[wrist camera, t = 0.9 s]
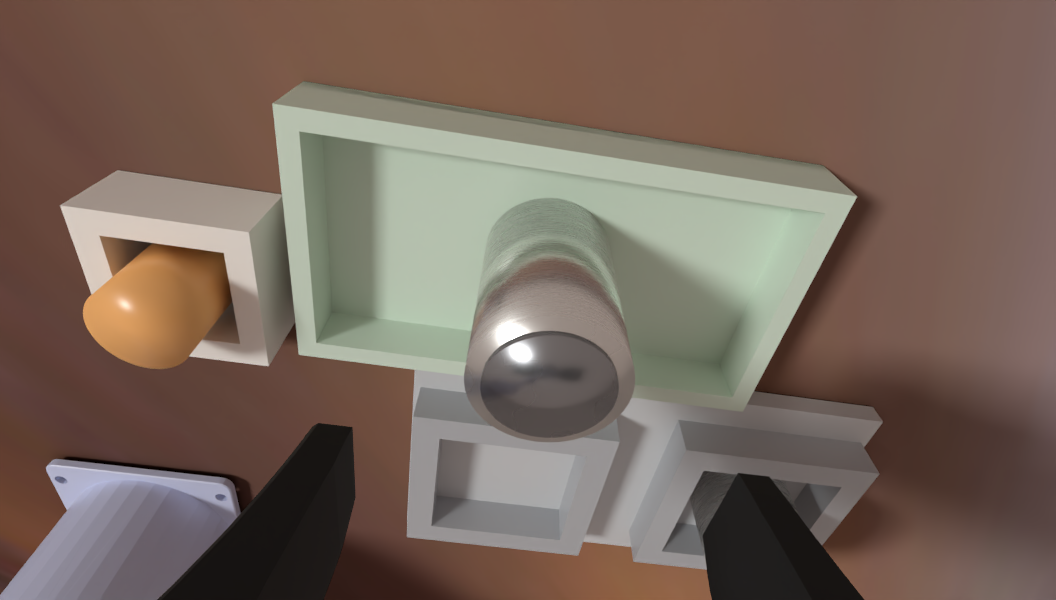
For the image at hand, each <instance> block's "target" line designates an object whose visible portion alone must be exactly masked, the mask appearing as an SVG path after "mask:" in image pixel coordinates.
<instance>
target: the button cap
mask: <svg viewBox="0 0 1056 600" xmlns="http://www.w3.org/2000/svg"><path fill="white" fill-rule="evenodd" d="M231 303H232V296H231V291H230V285H229V280H228V274H227V268H226V263H225V257H224V253H221V252H213V251H206V250H199V249H192V248H185V247H178V246H171V245H164V244H156V243H152V244H151V245H150V246H148V247H147V248H146V249H145V250H144V251H142V252H141V253H140V254H139V255H138V256H137V257H135V258H134V259H133V260H132V261H131V262H130V263H128V264H127V265H126V266H125V267H124V268H123V269H121V270H120V271H119V272H118V273H117V274H115V275H114V276H113V277H112V278H111V279H110V280H108V281H107V282H106V283H105V284H104V285H103V286H101V287H100V288H99V289H98V290H97V291H96V292H94V293H93V294H92V295H91V296H90V297H89V298H88V299H87V301H86V302H85V304H84V308H83V317H84V321H85V324H86V326H87V329H88V330H89V332H90V334H91V335H92V336H93V337H94V339H95V340H96V341H97V342H98V343H99V344H100V345H101V346H102V347H103V348H105V349H106V350H107V351H109V352H110V353H111V354H113V355H115V356H116V357H118V358H120V359H122V360H124V361H126V362H128V363H131V364H134V365H137V366H141V367H145V368H152V369H165V368H171V367H175V366H177V365H179V364H181V363H183V362H184V361H185V360H186V359H187V358H188V357H189V355H190V354H191V353H192V352H193V350H194V349H195V348H196V347H197V345H198V344H199V343H200V342H201V340H202V339H203V338H204V337H205V335H206V334H207V333H208V332H209V330H210V329H211V328H212V327H213V325H214V324H215V323H216V321H217V320H218V319H219V318H220V316H221V315H222V314H223V313H224V311H225V310H226V309H227V308H228V306H229V305H230V304H231Z"/></svg>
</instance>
